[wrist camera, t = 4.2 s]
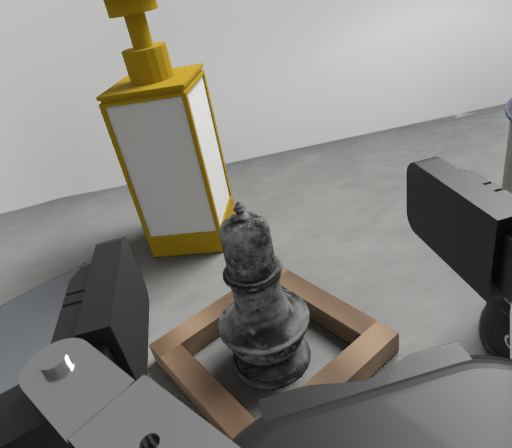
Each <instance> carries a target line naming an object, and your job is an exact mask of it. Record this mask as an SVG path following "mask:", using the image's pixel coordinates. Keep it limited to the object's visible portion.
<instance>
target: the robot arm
mask: <svg viewBox="0 0 512 448" xmlns="http://www.w3.org/2000/svg"><path fill="white" fill-rule="evenodd" d="M407 217H408V221H409V224H410V226H411V228H412V230H413V231H414V232H415V233H416V234H417V235H418V236H419V237H420V238H421V239H422V240H423V241H424V242H425V243H426V244H427V245H428V246H429V247H430V248H431V249H432V250H433V251H434V252H435V253H436V254H437V255H438V256H439V257H441V258H442V259H443V260H444V261H445V262H446V263H447V264H448V265H449V266H450V267H451V268H452V269H453V270H454V271H455V272H456V273H457V274H458V275H459V276H460V277H461V278H462V279H463V280H464V281H465V282H467V283H468V284H469V285H470V286H471V287H472V288H473V289H474V290H475V291H476V292H477V293H478V294H479V295H480V296H481V297H482V298H483V299H484V300H485V301H486V302H487V303H489V302H493V301H496V300H500V299H503V298H507V297H508V298H510V299H511V300H512V193H510V192H508V191H507V190H502V188H501V187H500V186H498V185H496V184H495V183H491V181H489V180H488V179H486V178H484V177H483V176H481V175H479V174H478V173H474V172H470V171H467V170H463V169H459V168H458V169H457V168H456V167H454V166H452V165H451V164H449V163H447V162H446V161H444V160H443V159H441V158H439V157H433V158H429V159H425V160H421V161H417V162H413V163H410V164H409V166H408V168H407ZM65 295H66V297H64V301H63V304H62V307H63V308H61V311H60V314H59V317H58V321H57V324H56V327H55V331H54V334H53V337H52V341H51V344H50V345H48V346H46V347H45V348H43V349H41V350H40V351H39V352H37V353H36V354H35V355H34V356H33V357H32V358H31V359H30V360H29V361H28V362H27V363H26V365H25V366H24V367H23V369H22V371H21V373H20V377H19V384H18V385H16V386H14V387H13V388H11V389H9V390H7V391H5V392H3V393H1V394H0V448H512V303H511V309H510V359H508V358H503V357H496V356H484V355H469V354H468V353H467V352H466V351H465V349H464V348H463V347H462V346H461V345H460V343H459V342H458V341H455V342H452V343H448V344H445V345H441V346H438V347H435V348H431V349H428V350H425V351H421V352H418V353H415V354H411V355H409V356H407V357H405V358H404V359H402V360H400V361H399V362H397V363H395V364H394V365H392V366H390V367H388V368H387V369H385V370H383V371H382V372H380V373H378V374H377V375H375V376H373V377H372V378H370V379H368V380H365V381H359V382H345V383H330V384H316V385H307V386H303V387H300V388H297V389H293V390H290V391H287V392H283V393H280V394H277V395H273V396H270V397H266V398H263V399H260V400H258V401H259V406H260V410H261V414H262V417H260V418H259V419H257V420H255V421H254V422H252V423H251V424H249V425H248V426H247V427H245V428H244V429H243V430H242V431H241V432H240V433H239V434H237V435H236V436H235V437H234V438H233V439H232V440H230V439H229V438H228V437H226V436H225V435H224V434H222V433H221V432H220V431H219V430H217V429H216V428H215V427H213V426H212V425H211V424H209V423H208V422H207V421H206V420H204V419H203V418H202V417H200V416H199V415H198V414H196V413H195V412H194V411H193V410H191V409H190V408H189V407H187V406H186V405H185V404H183V403H182V402H181V401H180V400H178V399H177V398H176V397H174V396H173V395H172V394H170V393H169V392H168V391H166V390H165V389H164V388H163V387H161V386H160V385H159V384H157V383H156V382H155V381H153V380H152V379H151V378H149V377H148V376H147V363H148V326H149V299H148V293H147V289H146V286H145V283H144V280H143V277H142V275H141V272H140V270H139V268H138V265H137V263H136V260H135V258H134V255H133V253H132V250H131V248H130V245H129V243H128V241H127V239H126V238H125V237H122V238H118V239H114V240H111V241H107V242H103V243H99V244H96V246H95V250H94V254H93V258H92V262H91V265H87V266H83V267H80V269H79V270H78V271H77V272H76V273H75V275H74V276H73V277H72V278H71V279H70V281H69V284H68V287H67V290H66V294H65Z"/></svg>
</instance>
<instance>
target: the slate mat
mask: <svg viewBox="0 0 512 448" xmlns="http://www.w3.org/2000/svg"><path fill="white" fill-rule="evenodd" d="M83 266H87V265H86V264H85V263H83V264H81V265H80V266H78V267H76V268H74V269H72V270H70V271H68V272H66V273H64V274H62V275H60V276H58V277H56V278H54V279H52V280H50V281H48V282H46V283H44V284H42V285H40V286H38V287H36V288H35V289H33V290H31V291H29V292H27V293H25V294H23V295H21V296H19V297H17V298H15V299H13V300H11V301H9V302H7V303H5V304H3V305H1V306H0V394H1V393H3V392H5V391H7V390H9V389H11V388H13V387H14V386H16V385H18V384H19V377H20V373H21V371H22V369H23V367H24V366H25V365H26V363H27V362H28V361H29V360H30V359H31V358H32V357H33V356H34V355H35V354H36V353H37V352H39V351H40V350H41V349H43V348H45V347H46V346H48V345H50V344H51V341H52V337H53V334H54V331H55V327H56V324H57V321H58V317H59V314H60V311H61V308H63V307H62V304H63V301H64V297H66V295H65V294H66V290H67V287H68V284H69V281H70V279H71V278H72V277H73V276H74V275H75V273H76V272H77V271H78V270H79V269H80V267H83Z"/></svg>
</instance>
